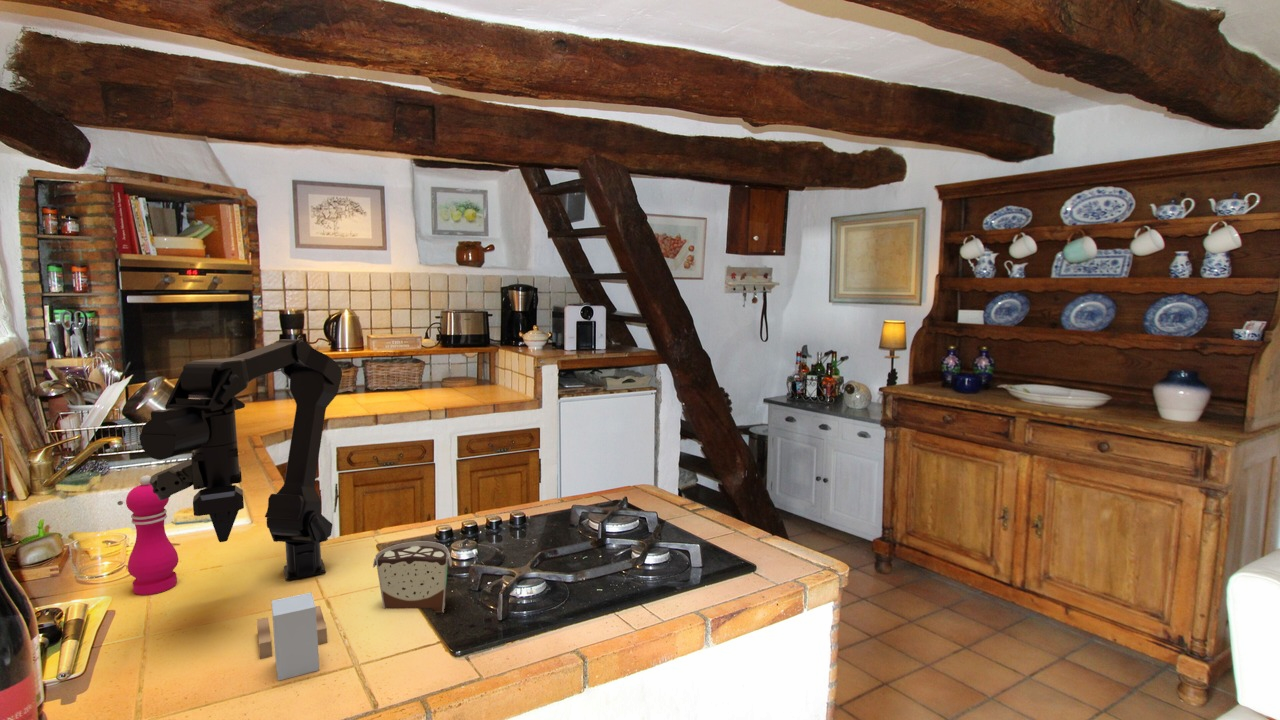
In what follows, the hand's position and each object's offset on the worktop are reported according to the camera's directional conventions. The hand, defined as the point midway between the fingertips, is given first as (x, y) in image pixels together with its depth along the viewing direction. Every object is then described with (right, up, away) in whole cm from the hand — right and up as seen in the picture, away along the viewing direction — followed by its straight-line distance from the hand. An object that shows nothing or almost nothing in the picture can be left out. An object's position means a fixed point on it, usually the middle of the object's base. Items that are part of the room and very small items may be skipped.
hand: (223, 541), depth 109 cm
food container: (+28, -13, +7) cm, 32 cm away
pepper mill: (-20, -12, +13) cm, 26 cm away
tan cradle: (+15, -14, -8) cm, 22 cm away
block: (+18, -14, -13) cm, 26 cm away
